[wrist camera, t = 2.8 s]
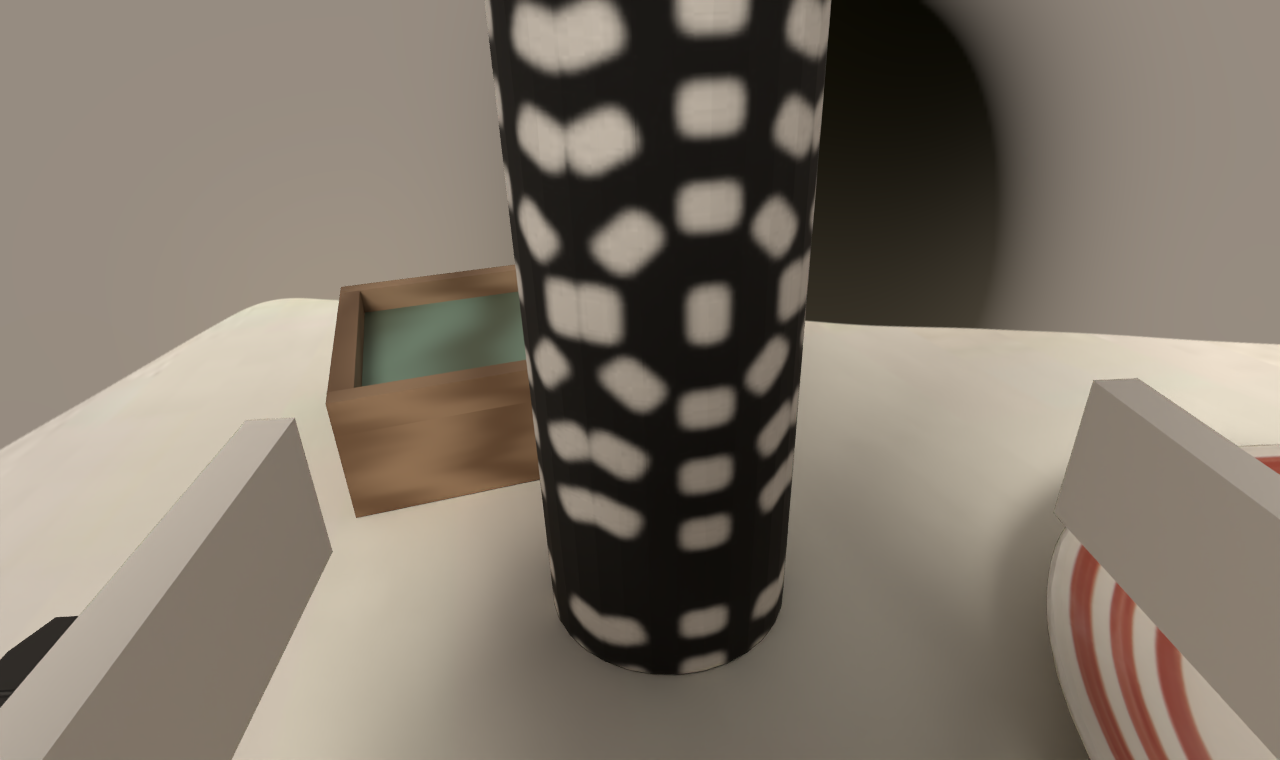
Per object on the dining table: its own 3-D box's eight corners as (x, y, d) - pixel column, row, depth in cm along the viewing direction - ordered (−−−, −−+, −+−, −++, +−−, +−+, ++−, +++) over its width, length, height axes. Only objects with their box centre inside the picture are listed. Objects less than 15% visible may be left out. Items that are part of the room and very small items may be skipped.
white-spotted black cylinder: (540, 531, 29) (470, -41, 20) (733, 495, 31) (753, -47, 21) (574, 702, 22) (490, -71, 13) (824, 643, 24) (912, -77, 14)
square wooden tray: (592, 338, 46) (587, 255, 43) (668, 452, 34) (667, 346, 31) (361, 375, 42) (341, 287, 39) (356, 517, 30) (325, 403, 28)
